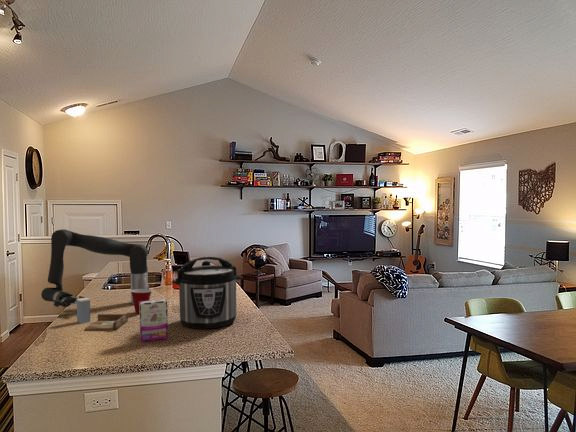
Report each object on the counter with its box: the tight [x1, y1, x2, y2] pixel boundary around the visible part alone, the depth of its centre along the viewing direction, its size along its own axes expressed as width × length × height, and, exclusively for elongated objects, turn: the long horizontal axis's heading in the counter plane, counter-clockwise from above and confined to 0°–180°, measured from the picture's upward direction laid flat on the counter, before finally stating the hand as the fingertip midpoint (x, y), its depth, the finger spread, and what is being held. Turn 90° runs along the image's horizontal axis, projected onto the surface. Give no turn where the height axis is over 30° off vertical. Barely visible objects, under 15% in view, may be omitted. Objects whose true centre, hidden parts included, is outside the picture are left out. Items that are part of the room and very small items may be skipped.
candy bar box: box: [138, 298, 169, 343], centre depth 182 cm, size 11×5×16 cm, turn 114°
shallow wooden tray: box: [84, 313, 129, 332], centre depth 202 cm, size 15×14×4 cm
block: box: [76, 297, 91, 324], centre depth 209 cm, size 5×5×11 cm
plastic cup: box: [130, 289, 153, 315], centre depth 226 cm, size 11×11×12 cm
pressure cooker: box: [171, 256, 243, 330], centre depth 207 cm, size 30×28×32 cm
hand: (74, 303), depth 216 cm, fingers open, 8 cm apart
